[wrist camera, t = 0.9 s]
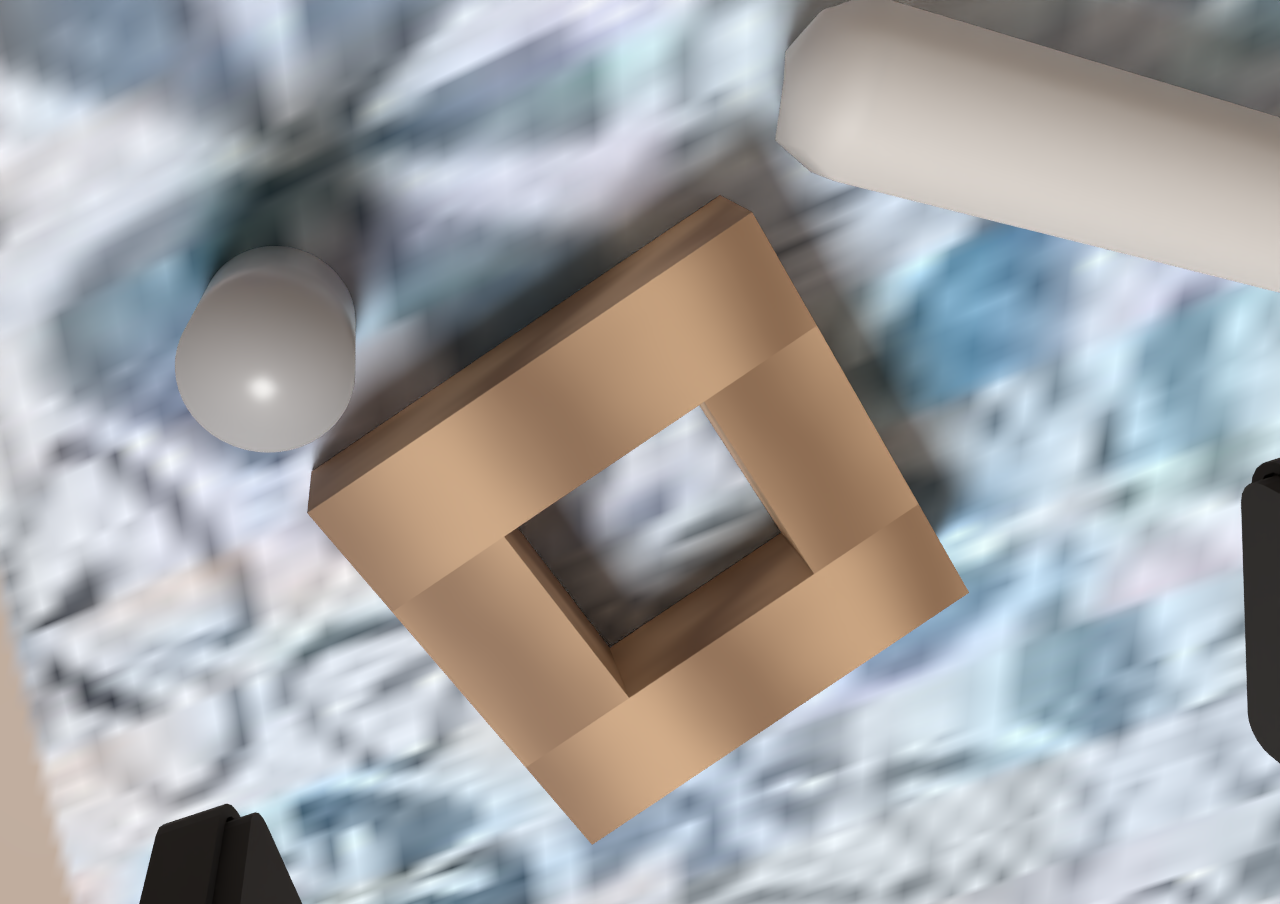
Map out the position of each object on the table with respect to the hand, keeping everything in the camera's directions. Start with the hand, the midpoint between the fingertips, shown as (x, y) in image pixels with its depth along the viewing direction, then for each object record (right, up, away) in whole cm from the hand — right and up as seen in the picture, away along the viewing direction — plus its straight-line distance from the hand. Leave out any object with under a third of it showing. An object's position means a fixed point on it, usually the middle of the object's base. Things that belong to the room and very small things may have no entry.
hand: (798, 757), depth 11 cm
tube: (+14, +11, +26) cm, 31 cm away
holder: (-1, +1, +26) cm, 26 cm away
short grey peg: (-11, +6, +21) cm, 25 cm away
